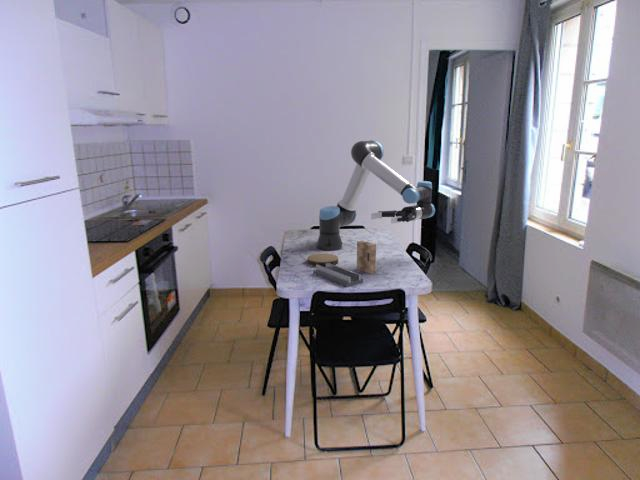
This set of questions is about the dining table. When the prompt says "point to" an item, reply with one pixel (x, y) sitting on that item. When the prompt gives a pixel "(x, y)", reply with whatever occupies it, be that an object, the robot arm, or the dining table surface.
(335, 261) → the wood log slice
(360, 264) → the door
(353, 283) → the track
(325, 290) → the dining table surface
